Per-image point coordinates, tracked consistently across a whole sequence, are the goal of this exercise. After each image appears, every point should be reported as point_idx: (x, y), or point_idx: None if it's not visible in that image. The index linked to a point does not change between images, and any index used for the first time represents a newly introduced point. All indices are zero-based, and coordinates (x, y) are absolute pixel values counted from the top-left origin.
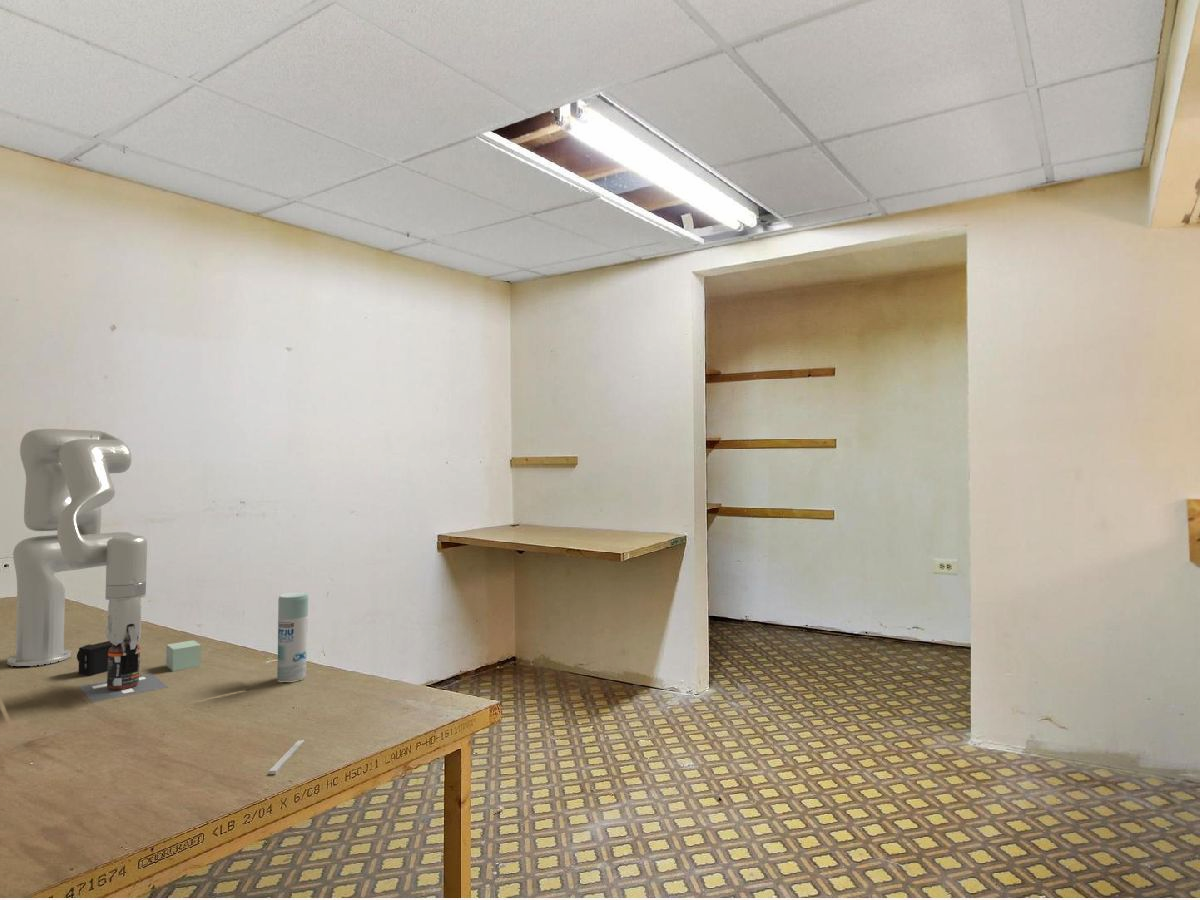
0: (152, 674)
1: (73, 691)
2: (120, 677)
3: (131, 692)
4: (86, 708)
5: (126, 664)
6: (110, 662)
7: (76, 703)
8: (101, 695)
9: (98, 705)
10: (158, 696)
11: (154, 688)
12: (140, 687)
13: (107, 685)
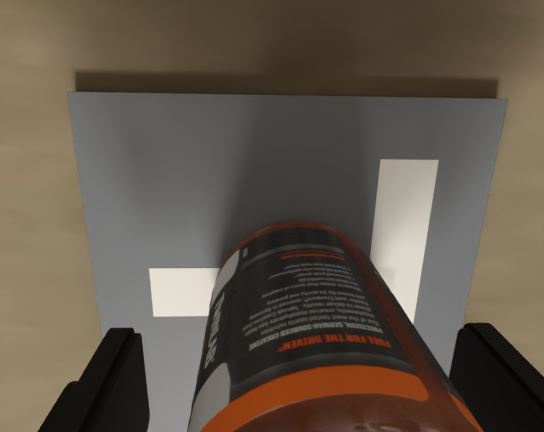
0: None
1: (478, 62)
2: (212, 308)
3: (141, 301)
4: (31, 54)
5: (51, 420)
6: (275, 327)
7: (188, 25)
8: (191, 167)
9: (54, 123)
10: (36, 380)
11: None
12: None
13: (296, 224)
